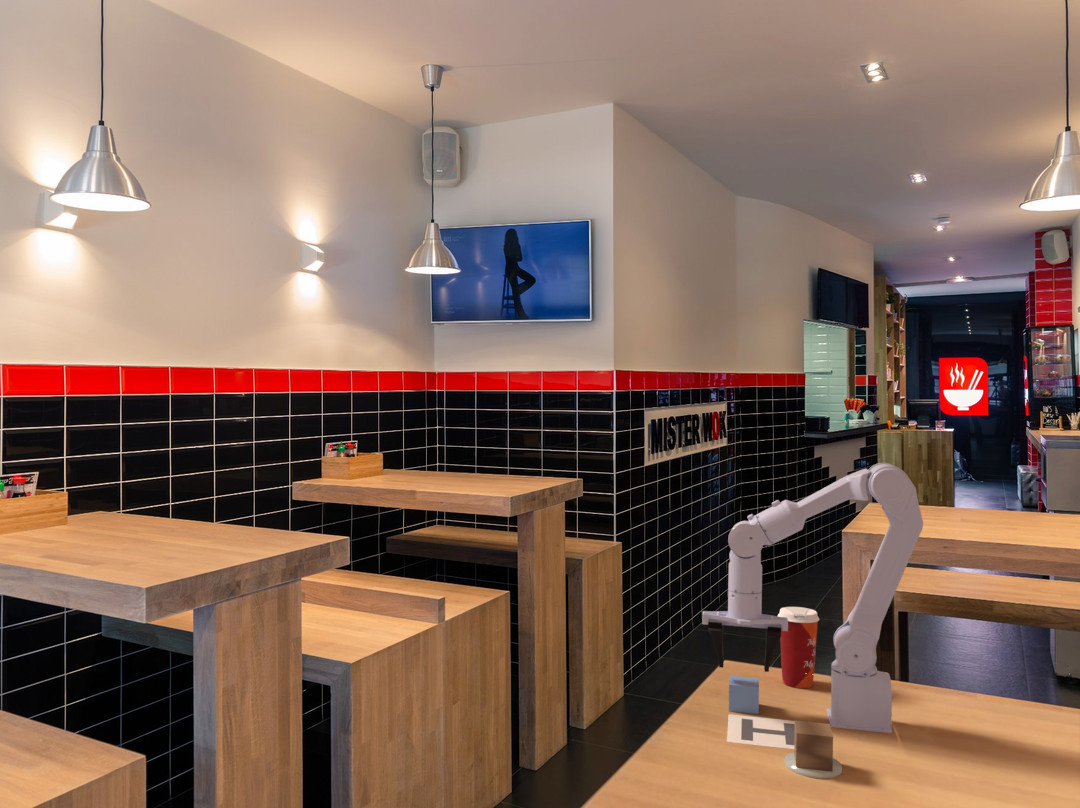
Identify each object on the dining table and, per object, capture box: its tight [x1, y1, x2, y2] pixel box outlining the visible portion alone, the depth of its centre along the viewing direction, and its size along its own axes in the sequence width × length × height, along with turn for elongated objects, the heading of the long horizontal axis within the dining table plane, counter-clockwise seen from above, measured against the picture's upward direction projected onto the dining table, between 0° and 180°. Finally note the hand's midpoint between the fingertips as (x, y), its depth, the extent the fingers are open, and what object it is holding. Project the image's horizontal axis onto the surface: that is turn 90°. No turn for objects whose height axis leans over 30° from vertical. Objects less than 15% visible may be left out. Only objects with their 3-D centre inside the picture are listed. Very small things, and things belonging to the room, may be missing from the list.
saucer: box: [784, 752, 843, 780], centre depth 120 cm, size 8×8×1 cm
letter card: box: [726, 713, 795, 750], centre depth 132 cm, size 13×12×1 cm
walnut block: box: [793, 720, 834, 772], centre depth 120 cm, size 5×5×5 cm
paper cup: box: [777, 606, 820, 689], centre depth 157 cm, size 8×8×14 cm
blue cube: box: [728, 675, 760, 715], centre depth 143 cm, size 5×5×5 cm
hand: (743, 667), depth 143 cm, fingers open, 7 cm apart
